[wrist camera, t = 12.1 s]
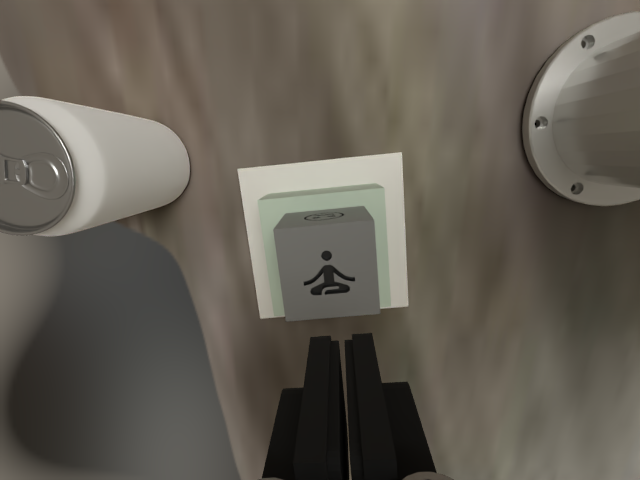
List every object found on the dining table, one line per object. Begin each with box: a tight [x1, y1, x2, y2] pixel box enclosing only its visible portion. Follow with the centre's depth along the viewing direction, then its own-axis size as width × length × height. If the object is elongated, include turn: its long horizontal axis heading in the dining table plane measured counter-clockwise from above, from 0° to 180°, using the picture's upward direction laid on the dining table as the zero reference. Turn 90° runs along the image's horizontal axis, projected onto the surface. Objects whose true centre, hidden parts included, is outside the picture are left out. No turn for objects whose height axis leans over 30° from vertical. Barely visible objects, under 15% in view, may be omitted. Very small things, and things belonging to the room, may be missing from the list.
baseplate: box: [238, 152, 408, 319], centre depth 27 cm, size 12×12×1 cm
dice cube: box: [273, 206, 380, 322], centre depth 20 cm, size 5×5×5 cm
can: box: [0, 96, 190, 236], centre depth 20 cm, size 6×6×12 cm
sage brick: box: [257, 183, 391, 316], centre depth 24 cm, size 8×8×4 cm
